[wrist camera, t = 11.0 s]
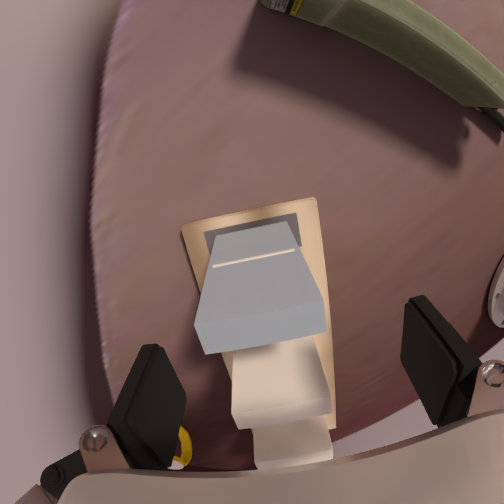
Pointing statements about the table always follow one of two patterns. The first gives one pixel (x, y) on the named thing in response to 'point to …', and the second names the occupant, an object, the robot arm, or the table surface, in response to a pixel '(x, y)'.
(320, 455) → the domino
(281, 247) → the domino
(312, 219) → the board
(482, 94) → the handheld radio
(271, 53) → the table surface
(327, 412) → the domino
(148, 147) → the table surface
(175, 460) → the yellow wristwatch
